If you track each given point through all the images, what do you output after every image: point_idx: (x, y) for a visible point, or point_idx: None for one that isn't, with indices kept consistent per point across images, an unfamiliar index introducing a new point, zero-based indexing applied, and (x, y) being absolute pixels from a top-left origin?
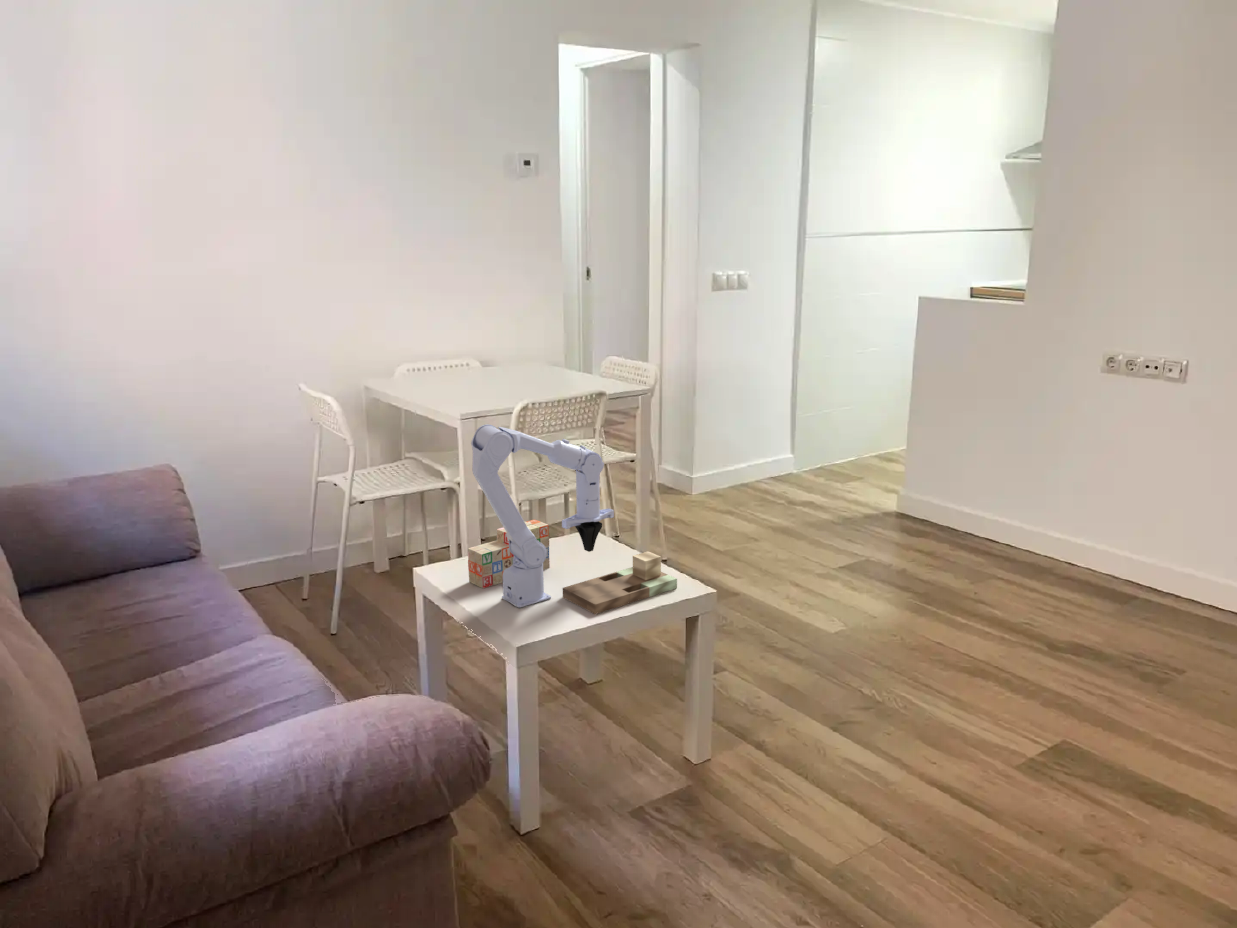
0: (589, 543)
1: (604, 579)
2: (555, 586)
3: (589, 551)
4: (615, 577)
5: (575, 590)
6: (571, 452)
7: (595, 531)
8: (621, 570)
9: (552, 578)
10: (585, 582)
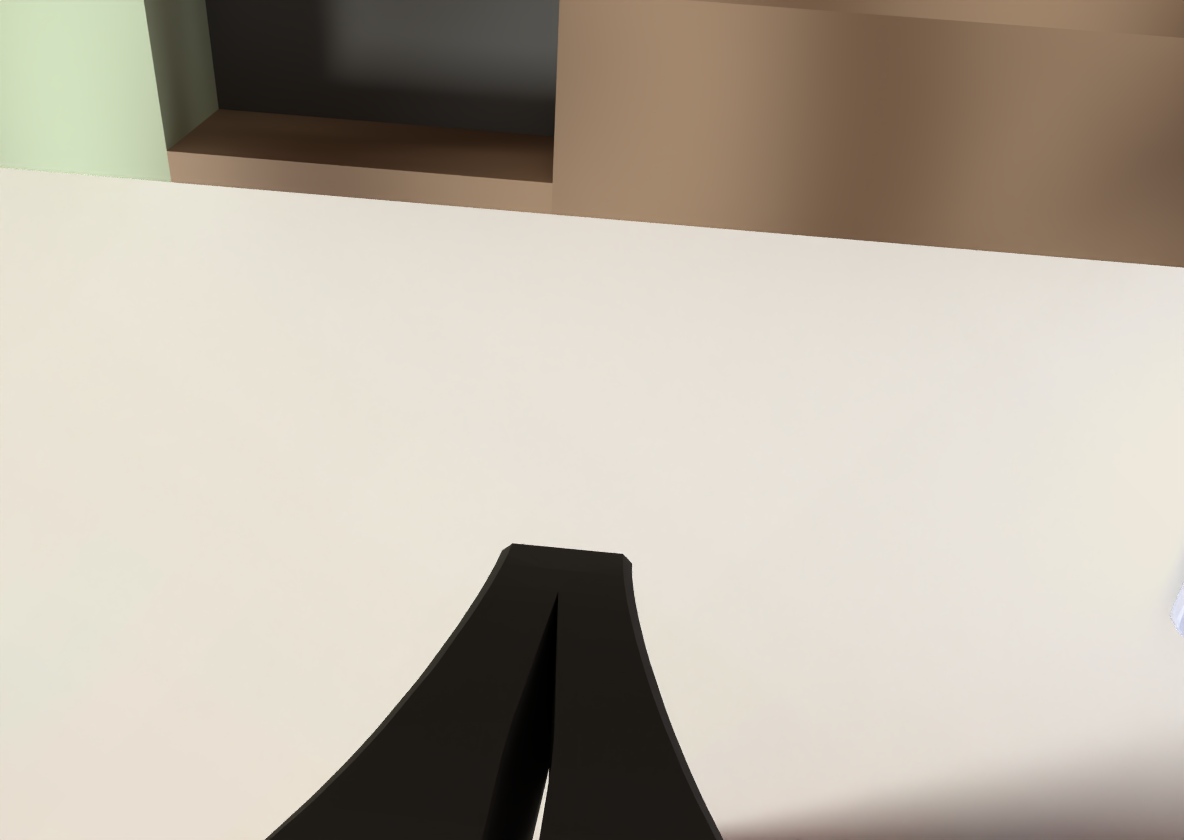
0: (637, 686)
1: (434, 155)
2: (934, 517)
3: (617, 555)
4: (227, 130)
5: None
6: None
7: None
8: (62, 165)
9: (777, 677)
10: (831, 186)
